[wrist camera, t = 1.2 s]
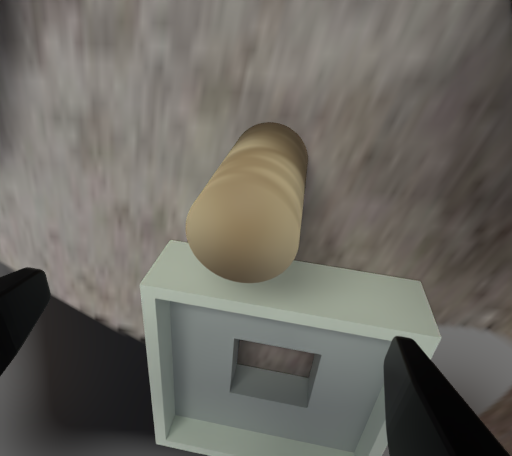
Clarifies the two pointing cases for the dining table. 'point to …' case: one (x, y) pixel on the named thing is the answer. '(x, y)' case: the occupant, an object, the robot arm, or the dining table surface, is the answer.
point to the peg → (252, 207)
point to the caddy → (282, 335)
